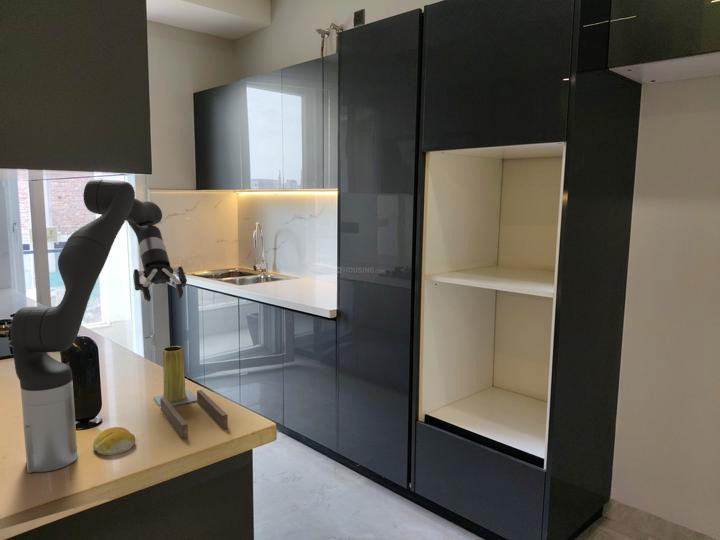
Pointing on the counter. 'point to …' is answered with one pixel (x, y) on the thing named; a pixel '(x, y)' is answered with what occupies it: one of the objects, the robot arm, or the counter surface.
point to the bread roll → (113, 441)
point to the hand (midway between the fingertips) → (164, 298)
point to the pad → (189, 398)
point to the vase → (173, 374)
